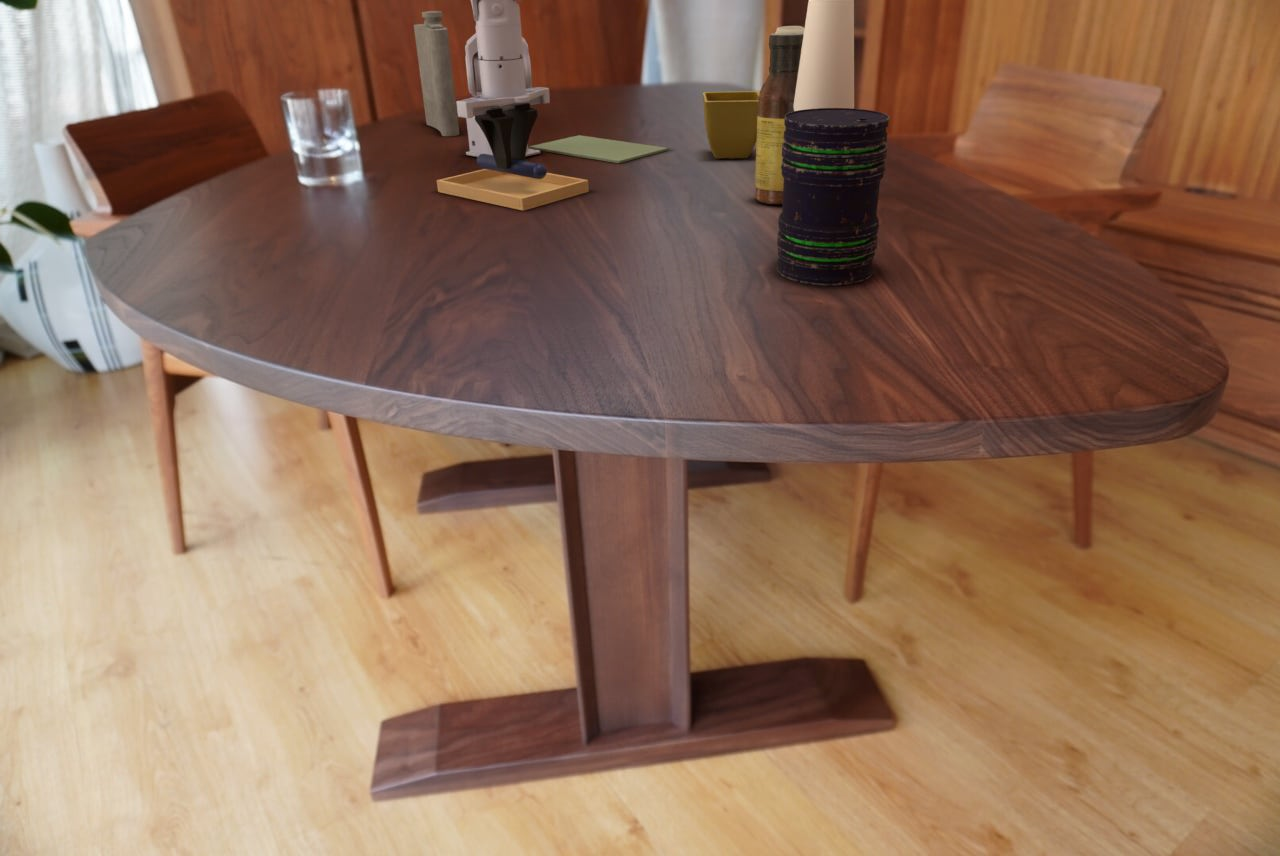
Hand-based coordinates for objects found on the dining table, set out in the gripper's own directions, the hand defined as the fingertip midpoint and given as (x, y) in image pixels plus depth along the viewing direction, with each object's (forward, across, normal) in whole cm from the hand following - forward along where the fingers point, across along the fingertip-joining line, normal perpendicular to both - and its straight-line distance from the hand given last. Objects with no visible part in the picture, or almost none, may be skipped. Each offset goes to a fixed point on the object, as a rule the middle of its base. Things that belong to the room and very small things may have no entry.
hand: (510, 166), depth 123 cm
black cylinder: (+3, -4, -51) cm, 51 cm away
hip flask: (+4, +26, +47) cm, 54 cm away
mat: (+4, +28, +10) cm, 30 cm away
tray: (+3, 0, 0) cm, 3 cm away
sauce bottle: (+4, +17, -32) cm, 36 cm away
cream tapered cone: (+4, +11, -41) cm, 43 cm away
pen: (+1, 0, 0) cm, 1 cm away
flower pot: (+4, +36, -11) cm, 38 cm away
